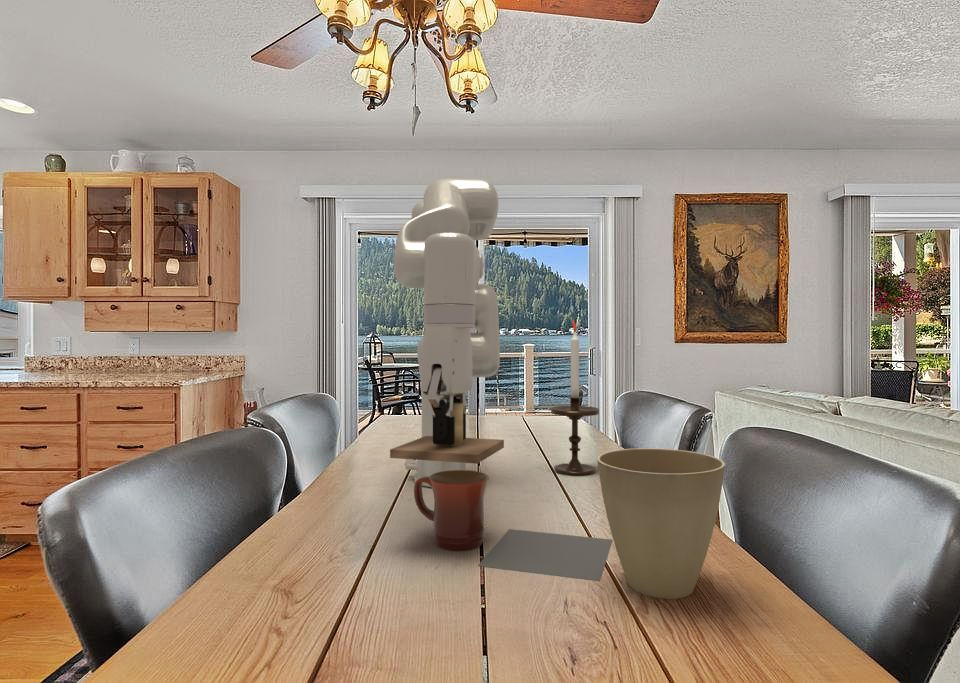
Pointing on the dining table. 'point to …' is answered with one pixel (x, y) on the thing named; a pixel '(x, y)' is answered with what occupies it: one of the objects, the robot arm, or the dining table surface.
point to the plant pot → (661, 515)
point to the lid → (449, 446)
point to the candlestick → (574, 416)
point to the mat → (549, 554)
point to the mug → (455, 508)
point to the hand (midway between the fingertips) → (449, 440)
